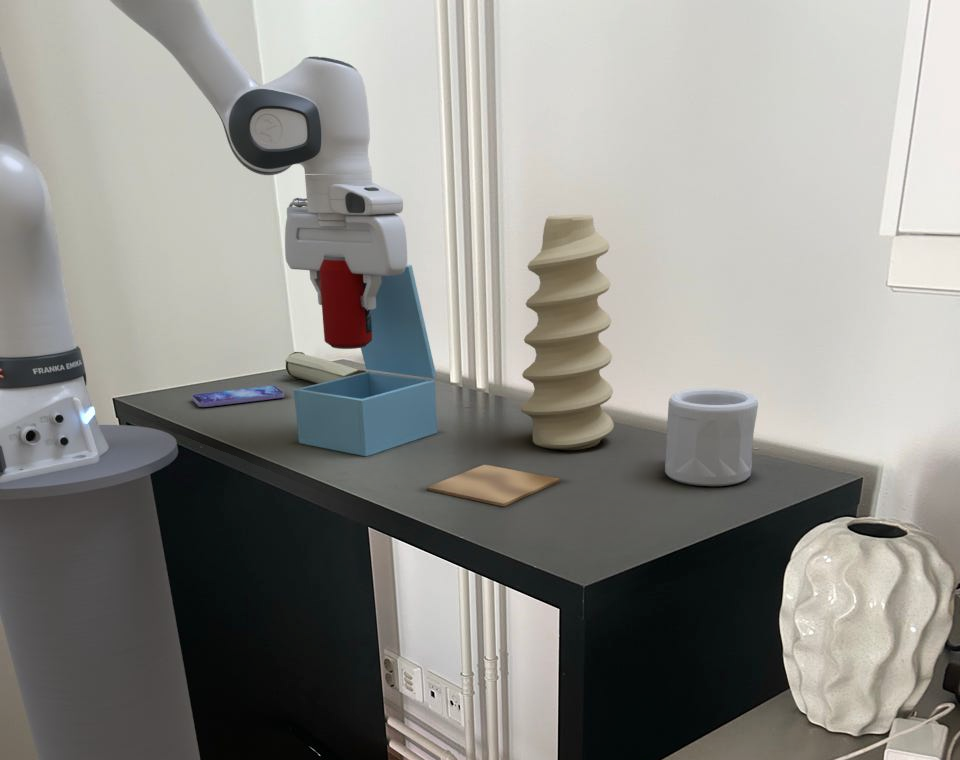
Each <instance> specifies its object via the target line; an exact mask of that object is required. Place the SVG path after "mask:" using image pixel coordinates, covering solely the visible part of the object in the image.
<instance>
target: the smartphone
mask: <svg viewBox="0 0 960 760" xmlns="http://www.w3.org/2000/svg"><path fill="white" fill-rule="evenodd" d="M284 397H285V392H284V391H283V390H282V389H280V388H279V387H277V386H276V385H274V384H273V385H270V384H269V385H261V386H253V387H244V388H233V389H227V390H218V391H210V392H200V393H194V394H192V395H191V400H192V401H193V402H194V403H195V405H197V406H198V407H200V408H208V407H216V406H224V405H225V406H226V405H234V404H242V403H250V402H251V403H252V402H259V401H266V400H274V399H275V400H276V399H282V398H284Z"/></svg>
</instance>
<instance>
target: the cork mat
mask: <svg viewBox="0 0 960 760" xmlns="http://www.w3.org/2000/svg"><path fill="white" fill-rule="evenodd" d="M560 481H561V478H557V477H552V476H547V475H542V474H537V473H532V472H526V471H521V470H516V469H512V468H511V469H510V468H505V467H500V466H495V465H489V464H482V465H479V466H477V467H475V468H472V469H469V470H466V471H464V472H462V473H459V474H457V475H454V476H451V477H449V478H446V479H444V480H441V481H438V482H436V483H433V484H431V485H429V486H426V491H429V492H434V493H439V494H444V495H448V496H453V497H457V498H462V499H467V500H471V501H475V502H479V503H485V504H489V505H494V506H499V507H503V508H504V507H507V506H509V505H510V504H514V503H515V502H518V501H519V500H522V499H524V498H526V497H528V496H531V495H533V494H535V493H537V492H540V491H542V490H544V489H546V488H549V487H551V486H553V485H555V484H557V483H561V482H560Z"/></svg>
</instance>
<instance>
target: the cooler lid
mask: <svg viewBox="0 0 960 760" xmlns="http://www.w3.org/2000/svg"><path fill="white" fill-rule="evenodd" d="M381 280H382V283H381V285H380V287H379V290H378V292H377V295H376V308H375V309H371V322H372V341H371V342H370V343H368V344H367V345H366V346H365V347H362V348H360V351H361V354H362V359H363V362H364V366H365V369H366V370H367V371H374V372H384V373H389V374H390V373H392V374H399V375H404V376H405V375H406V376H412V377H419V378H420V377H421V378H428V379H435V378H437V372H436V367H435V363H434V359H433V355H432V350H431V345H430V341H429V335H428V332H427V328H426V323H425V319H424V313H423V309H422V305H421V301H420V296H419V292H418V287H417V282H416V278H415V274H414V269H413V264H407V267H406V269H405V270H404V272H403V274H400V275H393V276H381Z"/></svg>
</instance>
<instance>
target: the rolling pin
mask: <svg viewBox="0 0 960 760" xmlns="http://www.w3.org/2000/svg"><path fill="white" fill-rule="evenodd" d="M284 362H285V370H286V372H287V374H288V376H290V377H292V378H293V379H300V380H301V379H302V380H305V381H308V382H312V383H315V384H319V383H323V382H327V381H331V380H335V379H340V378H344V377H348V376H352V375H356V374H360V373H364V372H367V371H366V370H362V369H357V368H354V367H352V366H348V365H344V364H341V363H338V362H335V361H331V360H328V359H324V358H320V357H317V356H313V355H309V354H306V353H304V352H303V351H293V352H292V353H290V354H289V355H288V356H287V358H286V359H285V360H284Z"/></svg>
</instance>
